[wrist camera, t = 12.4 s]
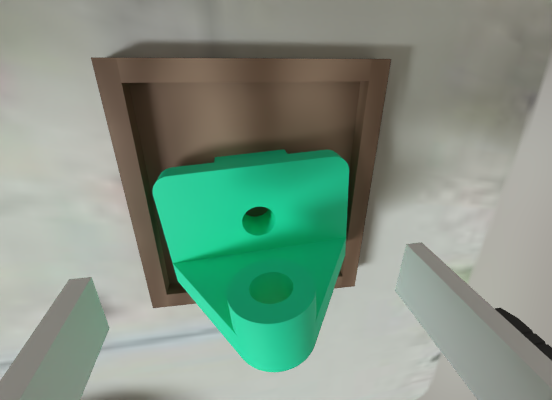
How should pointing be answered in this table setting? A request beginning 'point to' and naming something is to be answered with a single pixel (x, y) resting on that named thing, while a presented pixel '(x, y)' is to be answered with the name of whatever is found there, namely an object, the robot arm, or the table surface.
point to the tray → (236, 132)
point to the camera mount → (259, 246)
